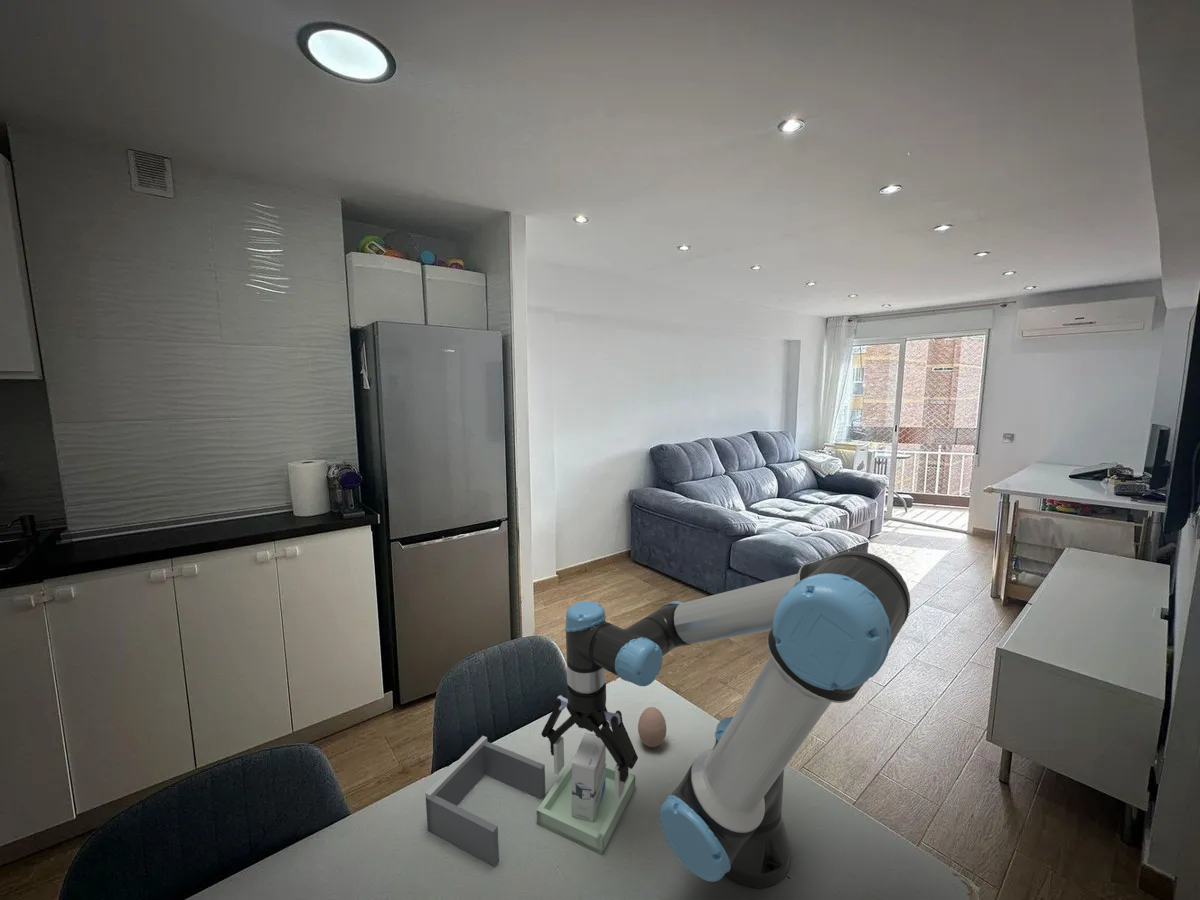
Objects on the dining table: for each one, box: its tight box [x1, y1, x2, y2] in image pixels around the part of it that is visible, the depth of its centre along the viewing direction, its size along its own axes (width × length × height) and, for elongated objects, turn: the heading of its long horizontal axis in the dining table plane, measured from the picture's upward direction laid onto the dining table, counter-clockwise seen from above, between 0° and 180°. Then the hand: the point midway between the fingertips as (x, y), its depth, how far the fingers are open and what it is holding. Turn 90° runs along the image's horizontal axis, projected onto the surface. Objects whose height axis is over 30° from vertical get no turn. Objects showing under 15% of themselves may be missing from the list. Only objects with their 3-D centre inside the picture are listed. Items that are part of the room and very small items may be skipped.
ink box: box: [572, 732, 607, 822], centre depth 95 cm, size 9×5×12 cm, turn 164°
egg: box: [637, 706, 667, 748], centre depth 111 cm, size 7×7×9 cm
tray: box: [535, 753, 636, 855], centre depth 96 cm, size 14×16×3 cm
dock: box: [425, 735, 546, 868], centre depth 94 cm, size 16×16×8 cm
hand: (588, 781), depth 95 cm, fingers open, 13 cm apart
